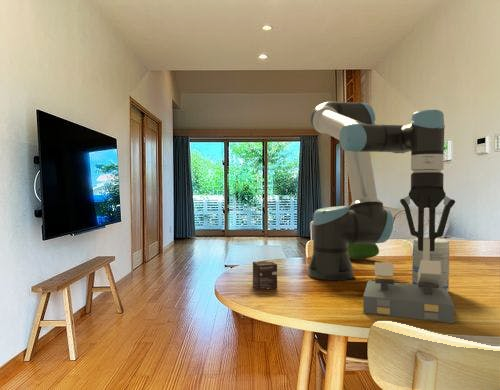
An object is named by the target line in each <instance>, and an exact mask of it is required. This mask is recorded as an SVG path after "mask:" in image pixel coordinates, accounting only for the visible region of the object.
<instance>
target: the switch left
mask: <svg viewBox="0 0 500 390" xmlns="http://www.w3.org/2000/svg"><path fill="white" fill-rule="evenodd" d="M374 276H376V278H377V277H378V278H379V277H380V278H391V279H393V278H394V263H393V262H377V261H375V262H374Z"/></svg>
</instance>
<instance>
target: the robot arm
mask: <svg viewBox="0 0 500 390" xmlns="http://www.w3.org/2000/svg"><path fill="white" fill-rule="evenodd" d="M309 121H310V125H311V127H312V129H314V131H316V132H318V133H320V134H327V135H330V136H331V137H333V138H334V139H337V140H338V141H339V145H340V147H341V150H343V151H344V153H345V159H346V165H347V166H346V167H347V168H346V169H347V174H348V180H349V182H348V183H349V188H350V195H351V203H350V205H349V206H347V205H338V206H330V207H322V208H318V209H316V210H315V211H314V212H313V218H312V230H313V231H312V235H313V236H312V241H313V242H312V243H313V244H312V245H313V246H312V255H311V258H310V261H309V264H308V267H307V275H308V277H310V278H313V279H317V280H323V281H324V280H326V281H346V280H351V279H352V278H354V276H355V275H354V274H355V273H354V268H353V264H352V261H351V258H350V257H349V255H348V244H376V245H377V244H383V243H386V242H387V241H388V240H389V239H390V237H391V236H392V233H393V229H394V217H393V215H392V212H391V211H390V210H389V209H387V208H385V209H384V203H383V202H382V201H381V200H379V199H378V194H377V188H376V187H377V186H376V182H375V176H374V170H373V162H372V157H371V152H373V153H374V152H376V153H377V152H378V153H392V154H406V153H409V152H410V153H411V154H410V155H411V156H410V158H411V159H410V170H411V171H412V173H411V174H410V190H409V192H408V195H407V196H405V197H404V198H400V200H399V203H400V204H401V205H402V207H403V208H404V211H405V212H404V213H405V216H406V220H407V225H408V227H409V228H408V229H409V232H410V235H411V236H412V237H416V238H418V250H419V251H422V260H427V261H430V251H433V252H434V250H435V239H436V238H437V239H439V238H441V237H443V235H444V233H445V230H446V226H447V223H448V222H447V221H448V219H449V215H450V211H451V209H452V208H453V206H454V205H455V203H456V200H455V199H452V198H450V197H448V196H447V195H446V192H445V189H444V177H445V176H444V173H443V172H442V171H443V170H444V169H445V168H444V162H445V161H444V160H445V159H444V155H445V153H444V151H445V127H446V125H445V114H444V112H443V111H442V110H439V109H423V110H418V111H415V112H413V113H412V115H411V119H410V123H407V124H403V125H402V124H376V123H375V121H376V115H375V110H374V108H373V107H372V106H371V105H370V104H369V103H367V102H360V101H355V102H351V101H350V102H349V101H324V102H322V103H320V104H318V105H317V106H315V107H314V108H313V109H312V111H311V113H310V117H309ZM410 200H411V201H412V202H413V204H414V205H415V206H416V207H417V231H416V229H415V224H414V221H413V220H414V219H413V217H412V212H411V209H410V206H409V205H410V204H411V201H410ZM442 201H443V206H444V207H443V210H442V212H441V216H440V220H439V224H438V226H437V230H436V208H437V207H439V205H440V204H441V202H442ZM425 209H428V237H424V235H425V233H424V232H425V229H424V228H425V227H424V226H425V224H424V223H425V215H424V214H425Z"/></svg>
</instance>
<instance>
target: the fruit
mask: <svg viewBox="0 0 500 390" xmlns="http://www.w3.org/2000/svg"><path fill="white" fill-rule="evenodd" d="M379 253H380V249H379V246H378V245H377V243H376V244H348V255H349V258H350V259H352V260H357V261H359V260H366V259H371V258H374V257H377V256H378V255H379Z"/></svg>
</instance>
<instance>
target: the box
mask: <svg viewBox="0 0 500 390" xmlns="http://www.w3.org/2000/svg"><path fill="white" fill-rule="evenodd" d="M253 285H254V286H255V287H254V286H253ZM252 286H253V287H254V288H256V290H258V289H266V290H268V289H267V288H277V289H278V264H277V263H275V262H273V261H272V260H267V261H265V260H263V261H261V260H260V261H252Z"/></svg>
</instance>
